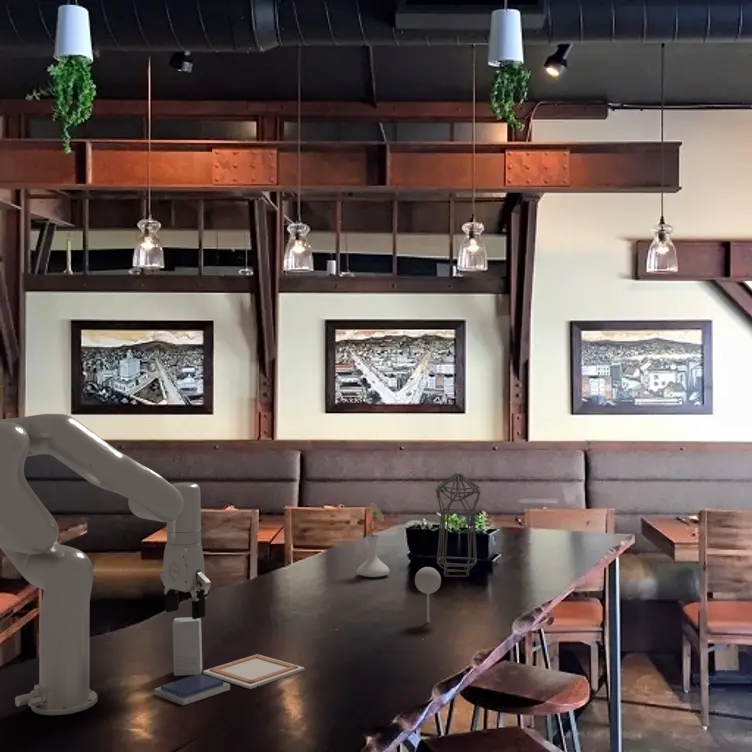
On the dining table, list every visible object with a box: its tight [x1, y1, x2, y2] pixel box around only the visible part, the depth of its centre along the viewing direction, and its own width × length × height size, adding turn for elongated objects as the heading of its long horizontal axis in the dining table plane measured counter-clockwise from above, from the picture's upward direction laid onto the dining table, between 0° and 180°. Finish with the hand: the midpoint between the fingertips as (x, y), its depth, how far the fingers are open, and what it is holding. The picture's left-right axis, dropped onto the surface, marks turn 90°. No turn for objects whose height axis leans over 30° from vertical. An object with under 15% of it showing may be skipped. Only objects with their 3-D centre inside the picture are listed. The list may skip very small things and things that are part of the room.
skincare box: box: [171, 616, 203, 677], centre depth 192 cm, size 6×4×12 cm
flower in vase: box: [356, 502, 390, 578], centre depth 295 cm, size 13×11×25 cm
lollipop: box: [414, 566, 442, 624], centre depth 233 cm, size 7×7×15 cm
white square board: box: [202, 653, 306, 690], centre depth 192 cm, size 16×16×1 cm
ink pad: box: [153, 673, 231, 706], centre depth 179 cm, size 12×10×2 cm
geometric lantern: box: [435, 472, 482, 578], centre depth 296 cm, size 16×16×35 cm
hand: (185, 614), depth 192 cm, fingers open, 9 cm apart
